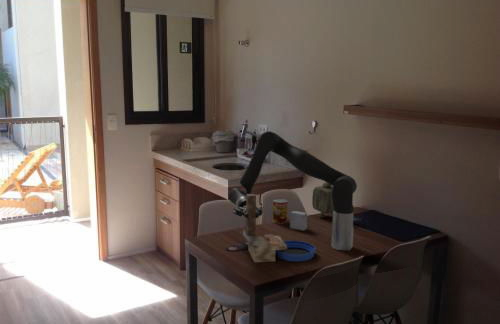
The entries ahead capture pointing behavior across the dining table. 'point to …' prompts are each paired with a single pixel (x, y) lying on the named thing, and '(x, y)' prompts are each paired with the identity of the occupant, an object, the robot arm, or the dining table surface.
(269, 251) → the beige square open box
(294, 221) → the medicine box
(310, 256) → the bowl
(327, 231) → the dining table surface
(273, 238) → the tile
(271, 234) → the tile
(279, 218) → the canned food
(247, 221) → the scraper
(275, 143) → the robot arm
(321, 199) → the tabletop clock
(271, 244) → the tile
